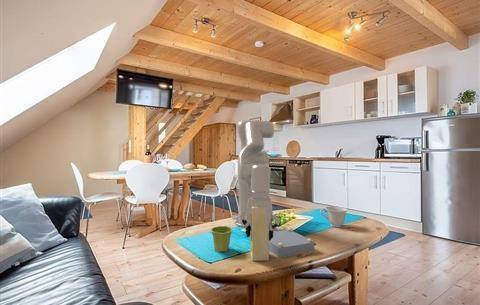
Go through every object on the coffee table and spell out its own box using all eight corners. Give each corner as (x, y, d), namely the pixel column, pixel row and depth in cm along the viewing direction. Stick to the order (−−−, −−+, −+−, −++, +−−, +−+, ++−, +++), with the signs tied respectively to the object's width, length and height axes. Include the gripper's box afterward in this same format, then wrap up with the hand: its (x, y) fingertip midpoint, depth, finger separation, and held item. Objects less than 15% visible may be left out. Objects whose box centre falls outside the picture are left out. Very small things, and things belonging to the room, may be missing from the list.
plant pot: (224, 255, 105) (224, 234, 105) (206, 250, 110) (206, 230, 110) (236, 248, 113) (236, 228, 113) (219, 243, 118) (219, 224, 118)
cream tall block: (248, 252, 108) (248, 203, 108) (265, 252, 109) (266, 203, 108) (250, 261, 100) (250, 207, 100) (268, 260, 101) (269, 207, 100)
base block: (279, 257, 104) (279, 245, 104) (257, 242, 120) (258, 231, 120) (314, 251, 111) (314, 239, 111) (289, 237, 128) (290, 227, 128)
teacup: (318, 222, 156) (318, 205, 156) (343, 223, 154) (344, 206, 154) (321, 228, 144) (322, 210, 144) (349, 229, 142) (350, 211, 142)
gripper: (236, 195, 104) (235, 237, 104) (279, 198, 98) (278, 244, 98) (243, 192, 111) (242, 232, 111) (283, 195, 105) (282, 238, 105)
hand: (259, 237), depth 104 cm, fingers closed on cream tall block, 8 cm apart
